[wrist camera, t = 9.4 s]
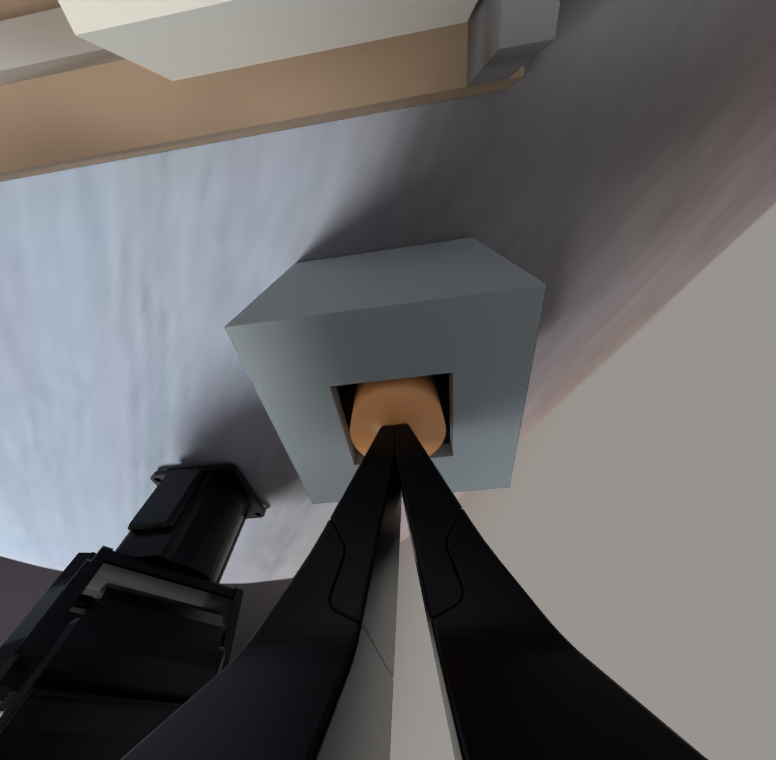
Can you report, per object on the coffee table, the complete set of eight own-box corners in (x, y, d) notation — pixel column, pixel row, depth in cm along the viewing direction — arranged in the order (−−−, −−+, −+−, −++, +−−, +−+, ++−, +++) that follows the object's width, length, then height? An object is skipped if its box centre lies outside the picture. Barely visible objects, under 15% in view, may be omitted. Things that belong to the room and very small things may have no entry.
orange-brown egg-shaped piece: (432, 395, 13) (446, 460, 10) (365, 402, 13) (359, 468, 10) (429, 334, 11) (445, 391, 8) (352, 343, 11) (340, 402, 8)
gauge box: (467, 384, 17) (509, 487, 11) (336, 398, 18) (312, 503, 12) (472, 237, 12) (546, 284, 7) (295, 262, 13) (224, 327, 7)
